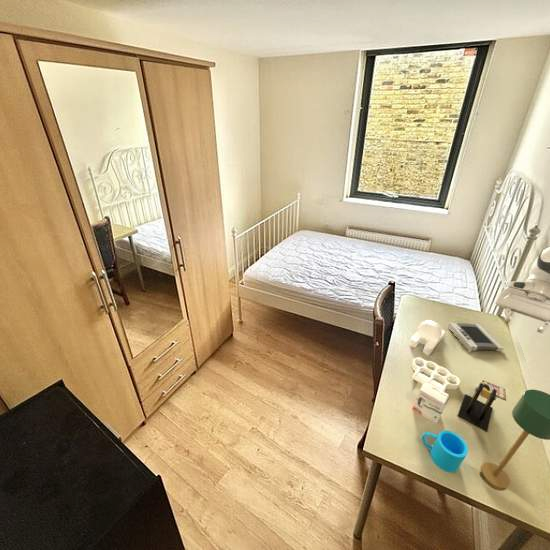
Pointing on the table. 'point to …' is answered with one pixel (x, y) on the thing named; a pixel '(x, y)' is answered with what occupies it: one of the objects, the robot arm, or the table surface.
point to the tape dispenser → (427, 336)
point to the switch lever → (485, 391)
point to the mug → (447, 450)
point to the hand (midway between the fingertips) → (523, 326)
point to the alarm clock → (474, 337)
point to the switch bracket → (477, 409)
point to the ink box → (430, 402)
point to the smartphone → (500, 391)
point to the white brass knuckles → (433, 374)
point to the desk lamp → (533, 420)
